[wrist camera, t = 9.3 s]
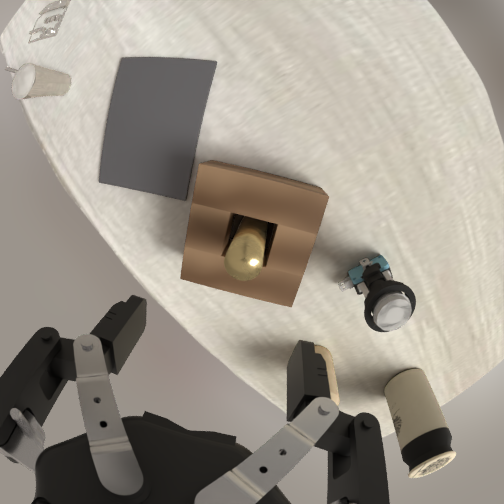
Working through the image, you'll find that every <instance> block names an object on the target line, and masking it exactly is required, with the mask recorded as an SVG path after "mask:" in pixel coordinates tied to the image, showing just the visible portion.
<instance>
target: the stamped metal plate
mask: <svg viewBox="0 0 504 504" xmlns="http://www.w3.org/2000/svg"><path fill="white" fill-rule="evenodd" d="M70 1H71V0H59V1H56V2H53V3H51V4H49V5H48V6H47V7H46V8H45V9H44V10H42V11H41V12H40V13H39V14H40V15H41V16H42V15H43V14H45V13H46V12H47V11H50V10H55V9H58V8H60V7H62V8H63V9H65V8H66V10H67V8H68V5H69V3H70ZM66 10H65V11H64V13H63V15H60V14H58V15H55V16H52V17H48V18H46V19H45V22H44V23H45V24H47V23H48V22H49V23H51V22H52V21H57V19H58V23H57V24H56V25H55V27H54V29H53V28H49V29H48V30H47V29H46V28H45V27H41V28H38V29H35V30H34V29H33V30H32V31H30V33H29V34H31V36H32V34H35V33H37V32H38V31H40V30H42V31H43V34H44V35H43V34H41V35H40V38H38V39H34V40H33V41H30V39H31V37H30V39H29V41H30V42H28V43H31V42H35V41H38V40H42V39H45V38H49V37H53V36H56V35H57V32H58V30H59V27H60V24H61V22H62V19H63V17H64V15H65V12H66ZM41 16H40V17H41ZM40 17H39V18H40ZM39 18H38V19H39ZM38 19H37V20H38ZM36 23H37V21H36ZM35 25H36V24H35ZM34 28H35V26H34ZM45 30H47V32H46V31H45ZM45 35H46V36H45ZM47 35H48V36H47Z"/></svg>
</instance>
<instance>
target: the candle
mask: <svg viewBox="0 0 504 504" xmlns="http://www.w3.org/2000/svg"><path fill="white" fill-rule="evenodd" d="M314 347H315V353H319V354H321V355H322V356H323V358H324V360H325V361H326V367H327V373H328V380H329V387H330V394H331V400H333V401H334V402H335V403H336V404H337V406H338V405H339V402H340V399H339V393H338V387H337V381H336V376H335V370H334V365H333V359H332V355H331V353H330V351H329V350H328V349H327V348H325V347H322V346H314Z"/></svg>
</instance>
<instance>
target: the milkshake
mask: <svg viewBox="0 0 504 504" xmlns="http://www.w3.org/2000/svg"><path fill="white" fill-rule="evenodd" d="M5 70H7V71H10V72H13V73H16V74H15V77H14V79H13V81H12V93H13V96H14V98H16V99H17V100H20V99H27V98H35V97H43V96H63V95H65V94H66V93H67V92H68V91H69V89H70V86H71V79H72V78H71V77H70V76H69V74H66V73H63V72H59V71H56V70H52V69H48V68H45V67H41V66H38V65H35V64H31V63H27V64H24V65H23V66H22V67H21V68H20V69H19V70H16V69H12V68H9V67H6V69H5Z"/></svg>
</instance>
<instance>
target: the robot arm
mask: <svg viewBox="0 0 504 504" xmlns="http://www.w3.org/2000/svg"><path fill="white" fill-rule="evenodd" d="M146 305H147V302H146V299H144V298H140V297H138V296H135V295H132V296H131V297H130V298H129V299H128V300H127V302H123V301H120V302H118V303H116V304H115V305H113V306H112V307H111V309H110V310H109V311H108V312H107V313H106V315H105V316H104V317H103V318H102V319H101V320H100V322H99V323H98V324H97V325H96V327H95V328H94V329H93V330H92V332H91V333H90V334H83V335H80V336H78V337H77V338H76V339H75V340H72V339H66V338H60V336H59V333H58V331H57V330H56V329H54V328H51V327H44V328H41V329H39V330H38V331H37V332H36V333H35V334H34V335H33V336H32V338H31V339H30V340H29V341H28V342H27V344H26V345H25V346H24V347H23V349H22V350H21V351H20V352H19V354H18V355H17V356H16V357H15V359H14V360H13V361H12V363H11V364H10V365H9V367H8V368H7V369H6V371H5V372H4V374H3V375H2V376H1V377H0V453H1V454H3V455H4V456H6V457H7V458H8V459H9V460H10V461H12V462H14V463H20V464H21V465H23V466H25V467H26V468H27V469H29V470H30V471H32V472H34V473H35V475H36V493H35V498H34V500H33V502H32V503H31V504H291V503H290V502H289V501H288V499H287V498H286V497H285V496H284V494H283V493H282V492H281V490H280V489H279V488H278V487H277V485H276V484H277V483H278V482H279V481H280V480H281V479H282V478H283V477H284V476H285V475H287V473H289V471H291V470H292V469H293V467H294V466H295V465H296V464H297V463H298V462H299V461H300V460H301V459H302V458H303V457H304V456H305V455H306V454H307V453H308V451H309V450H310V449H311V448H312V447H313V446H315V447H318V448H321V449H324V450H326V451H328V493H327V504H390V503H389V491H388V481H387V472H386V464H385V456H384V450H383V443H382V436H381V430H380V424H379V422H378V420H377V418H376V417H375V416H373V415H372V414H370V413H359V414H358V415H357V416H356V417H354V416H351V415H348V414H345V413H343V412H341V411H339V408H338V406H337V404H336V403H335V402H334V401H333V400H331V394H330V387H329V380H328V373H327V367H326V361H325V360H324V358H323V356H322V355H321V354H319V353H315V347H314V343H313V342H308V341H303V340H299V341H298V343H297V345H296V347H295V349H294V351H293V353H292V356H291V358H290V360H289V363H288V367H287V421H290V422H291V423H290V424H286V425H285V426H284V427H283V428H282V429H281V430H280V431H279V432H277V433H276V434H275V435H274V436H273V437H272V438H271V439H270V440H268V441H267V442H266V443H265V444H264V445H263V446H262V447H260V448H259V449H258V450H257V451H255V452H254V453H252V452H250V451H249V450H248V449H247V448H245V447H244V446H242V445H240V444H238V443H236V436H231V435H226V434H221V433H217V432H210V431H207V432H206V431H190V430H187V429H185V428H183V427H181V426H179V425H177V424H175V423H174V422H172V421H170V420H168V419H166V418H163V417H161V416H158V415H155V414H152V413H149V412H146V411H145V413H144V414H143V417H142V416H128V417H123V418H121V417H120V414H119V410H118V407H117V404H116V400H115V397H114V394H113V390H112V386H111V383H110V379H109V374H110V373H111V372H112V373H114V374H116V375H117V374H118V373H119V371H120V370H121V368H122V366H123V365H124V363H125V361H126V360H127V358H128V356H129V355H130V353H131V351H132V350H133V348H134V346H135V345H136V343H137V342H138V340H139V338H140V337H141V335H142V333H143V332H144V329H145V326H146ZM68 380H71V381H76V383H77V389H78V395H79V400H80V406H81V411H82V416H83V420H84V424H85V429H86V433H84V434H82V435H79V436H77V437H74V438H72V439H69V440H66V441H64V442H61V443H58V444H56V445H53V446H50V447H48V448H46V449H45V450H44V448H43V445H44V440H45V433H44V430H43V429H42V425H43V423H44V422H45V420H46V418H47V416H48V414H49V412H50V410H51V409H52V407H53V405H54V403H55V402H56V400H57V398H58V396H59V395H60V393H61V391H62V390H63V388H64V386H65V384H66V383H67V381H68Z"/></svg>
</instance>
